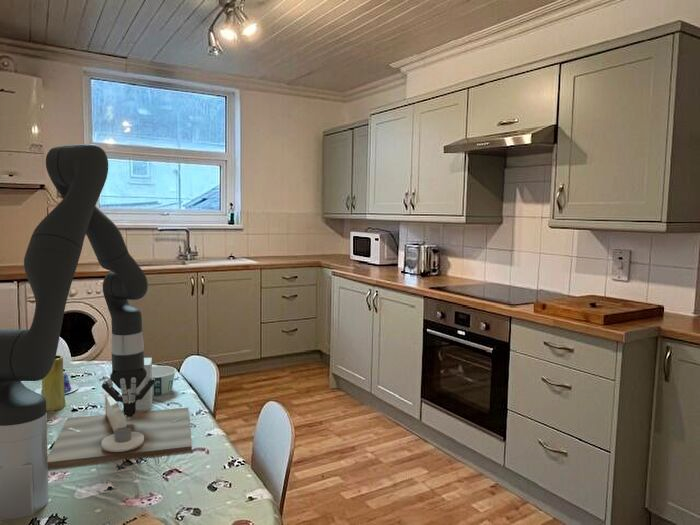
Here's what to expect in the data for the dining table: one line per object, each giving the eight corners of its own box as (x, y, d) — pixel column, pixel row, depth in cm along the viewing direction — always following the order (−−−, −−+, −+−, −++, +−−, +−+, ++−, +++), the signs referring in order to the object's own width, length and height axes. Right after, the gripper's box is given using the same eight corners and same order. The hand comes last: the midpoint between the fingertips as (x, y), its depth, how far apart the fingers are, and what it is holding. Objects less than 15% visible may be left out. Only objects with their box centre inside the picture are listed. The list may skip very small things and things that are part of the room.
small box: (129, 402, 154) (129, 358, 153) (152, 400, 156) (152, 357, 155) (126, 411, 146) (126, 365, 145) (151, 410, 148) (150, 364, 147)
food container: (135, 387, 167) (135, 367, 167) (175, 384, 171) (175, 364, 171) (135, 400, 156) (134, 378, 155) (177, 396, 160) (177, 374, 160)
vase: (54, 412, 145) (53, 361, 144) (35, 410, 146) (34, 359, 145) (70, 404, 151) (69, 355, 150) (52, 402, 152) (50, 354, 151)
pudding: (67, 398, 157) (67, 381, 156) (25, 398, 156) (25, 381, 155) (85, 385, 169) (84, 369, 168) (46, 385, 168) (46, 369, 167)
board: (191, 452, 122) (191, 445, 122) (44, 469, 113) (44, 462, 112) (188, 412, 147) (188, 407, 147) (67, 423, 137) (67, 417, 137)
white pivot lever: (147, 446, 121) (147, 424, 120) (104, 455, 116) (104, 432, 115) (127, 409, 143) (127, 391, 142) (90, 415, 138) (90, 396, 138)
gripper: (96, 355, 127) (99, 424, 129) (155, 351, 131) (157, 418, 133) (101, 347, 134) (103, 413, 136) (156, 344, 139) (158, 407, 140)
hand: (130, 415), depth 135 cm, fingers closed
